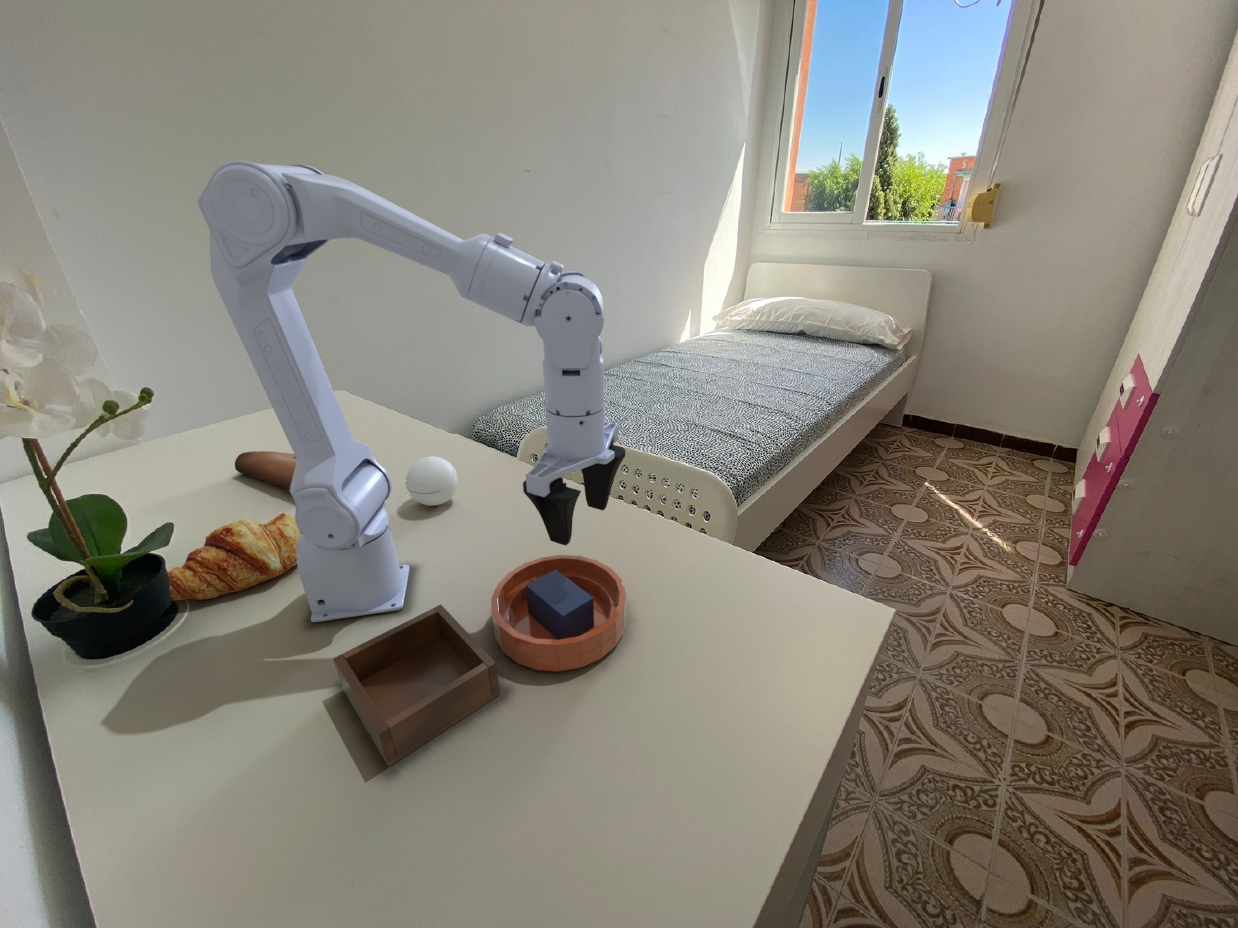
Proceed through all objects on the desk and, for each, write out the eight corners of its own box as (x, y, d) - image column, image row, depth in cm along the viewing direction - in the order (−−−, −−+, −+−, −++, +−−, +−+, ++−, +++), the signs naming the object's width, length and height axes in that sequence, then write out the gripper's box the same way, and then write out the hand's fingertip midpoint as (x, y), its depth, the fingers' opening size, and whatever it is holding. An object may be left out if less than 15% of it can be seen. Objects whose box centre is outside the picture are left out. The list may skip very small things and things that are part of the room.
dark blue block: (564, 645, 56) (562, 616, 54) (528, 613, 60) (525, 584, 58) (594, 626, 58) (593, 597, 56) (557, 597, 62) (555, 568, 61)
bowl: (497, 686, 52) (493, 655, 50) (493, 591, 64) (490, 564, 62) (639, 660, 55) (640, 630, 53) (610, 574, 67) (610, 547, 65)
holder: (388, 767, 45) (378, 733, 43) (343, 689, 52) (332, 658, 50) (500, 694, 51) (496, 662, 49) (446, 633, 58) (440, 603, 56)
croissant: (339, 544, 78) (316, 492, 77) (365, 538, 71) (339, 482, 70) (159, 623, 63) (127, 561, 62) (169, 626, 56) (133, 556, 55)
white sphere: (441, 485, 87) (434, 443, 84) (471, 500, 83) (465, 457, 79) (383, 511, 80) (373, 466, 77) (412, 529, 76) (403, 482, 72)
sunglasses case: (352, 476, 88) (325, 452, 83) (324, 513, 85) (293, 490, 80) (285, 453, 96) (255, 430, 91) (257, 486, 93) (224, 464, 88)
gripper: (569, 441, 46) (574, 571, 52) (644, 390, 57) (641, 502, 63) (502, 426, 49) (515, 550, 55) (586, 380, 60) (589, 488, 66)
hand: (579, 523), depth 59 cm, fingers open, 7 cm apart
